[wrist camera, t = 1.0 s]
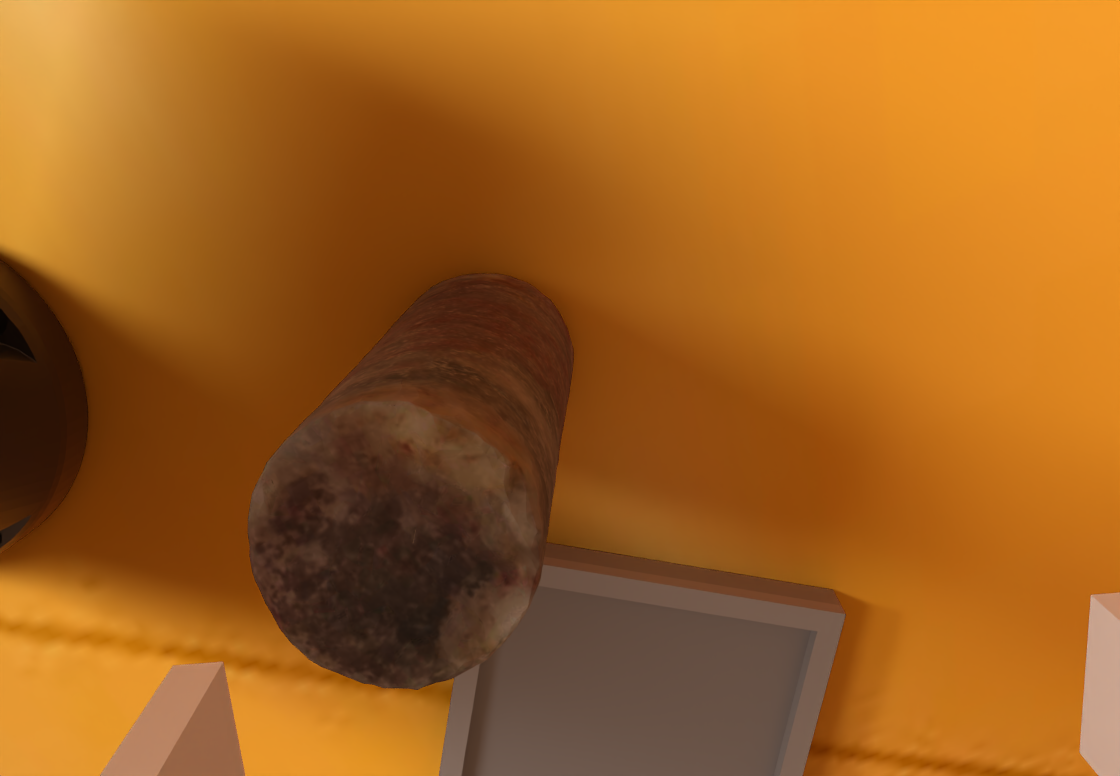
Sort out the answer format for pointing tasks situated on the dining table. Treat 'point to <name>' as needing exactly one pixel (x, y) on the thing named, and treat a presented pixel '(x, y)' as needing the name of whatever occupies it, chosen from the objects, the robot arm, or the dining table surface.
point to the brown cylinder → (420, 489)
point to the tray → (648, 675)
